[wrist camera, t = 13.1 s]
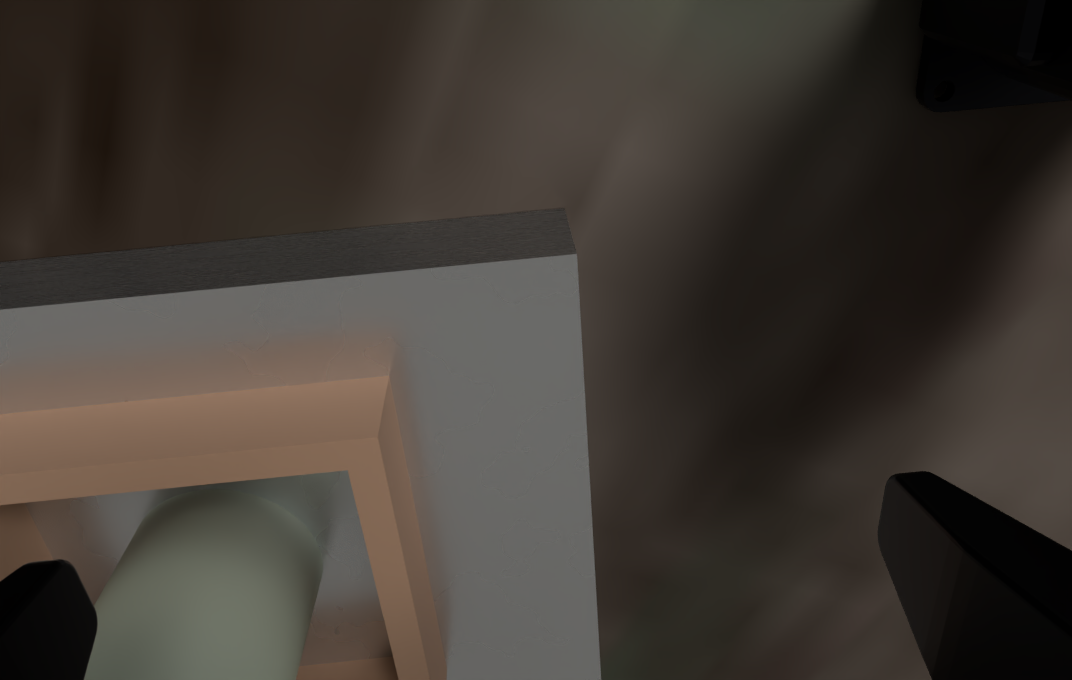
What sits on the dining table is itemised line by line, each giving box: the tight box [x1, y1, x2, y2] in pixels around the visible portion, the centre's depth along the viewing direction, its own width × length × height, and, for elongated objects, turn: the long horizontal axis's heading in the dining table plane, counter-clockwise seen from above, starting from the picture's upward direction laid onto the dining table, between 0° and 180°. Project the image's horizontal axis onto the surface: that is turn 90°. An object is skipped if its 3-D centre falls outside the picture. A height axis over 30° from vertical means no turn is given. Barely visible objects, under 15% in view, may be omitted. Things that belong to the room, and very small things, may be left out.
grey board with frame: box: [0, 208, 601, 680], centre depth 22 cm, size 20×16×6 cm
